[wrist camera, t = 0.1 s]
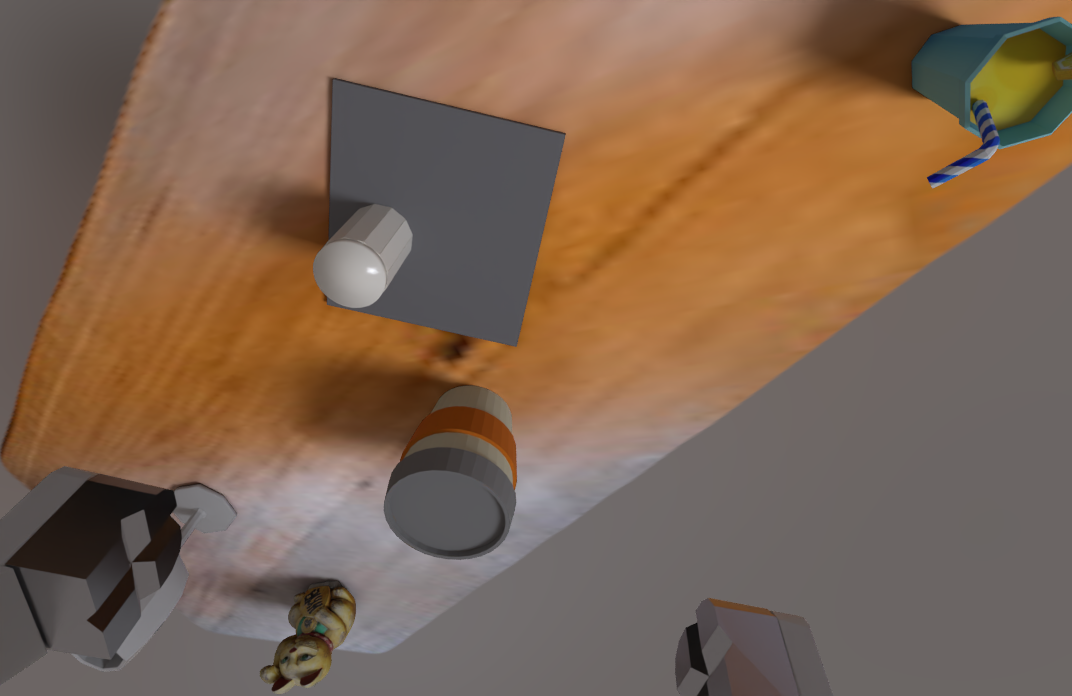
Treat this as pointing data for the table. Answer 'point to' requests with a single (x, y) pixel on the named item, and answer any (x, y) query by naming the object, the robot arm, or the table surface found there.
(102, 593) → the robot arm
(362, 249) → the cream tumbler
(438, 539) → the reusable coffee cup
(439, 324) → the charcoal mat
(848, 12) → the table surface
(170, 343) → the table surface
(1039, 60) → the cup
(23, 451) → the table surface
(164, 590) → the wineglass
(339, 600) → the decorative figurine
